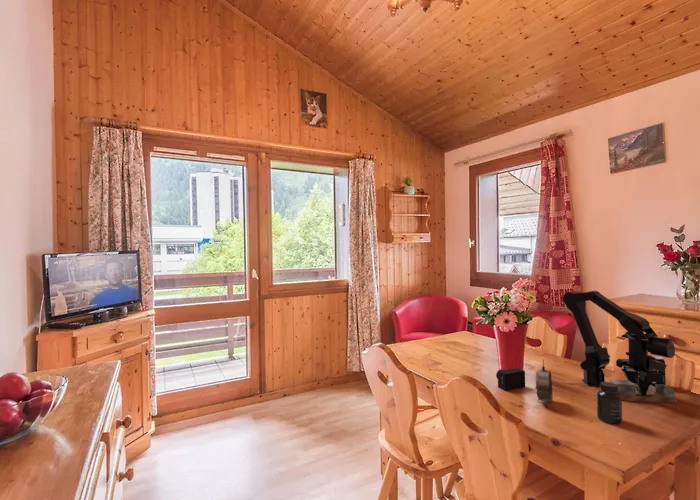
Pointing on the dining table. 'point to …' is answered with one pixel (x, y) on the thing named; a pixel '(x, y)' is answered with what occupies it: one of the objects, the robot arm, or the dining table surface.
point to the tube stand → (661, 394)
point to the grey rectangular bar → (650, 391)
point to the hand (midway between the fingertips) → (639, 392)
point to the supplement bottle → (609, 403)
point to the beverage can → (660, 359)
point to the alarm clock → (544, 385)
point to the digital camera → (511, 379)
